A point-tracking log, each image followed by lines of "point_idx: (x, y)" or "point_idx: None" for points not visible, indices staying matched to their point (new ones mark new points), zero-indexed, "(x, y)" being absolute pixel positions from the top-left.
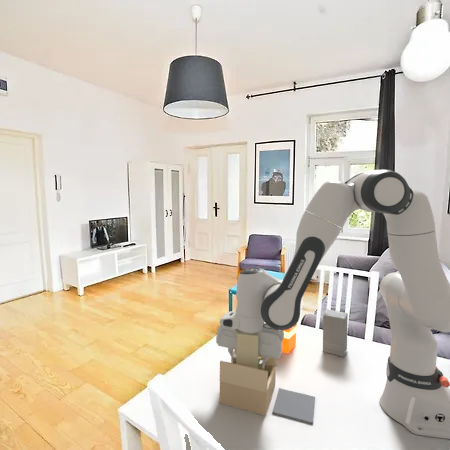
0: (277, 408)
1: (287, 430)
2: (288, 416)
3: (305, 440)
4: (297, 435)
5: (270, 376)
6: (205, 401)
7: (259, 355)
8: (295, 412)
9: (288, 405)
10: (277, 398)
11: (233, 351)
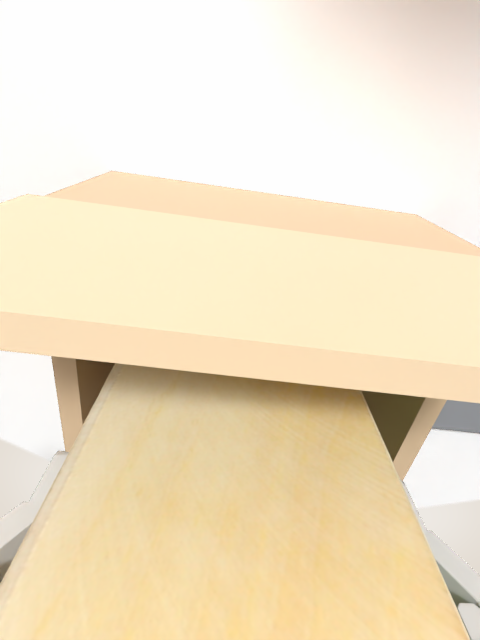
0: None
1: (412, 469)
2: (435, 426)
3: (465, 489)
4: (443, 479)
5: (419, 428)
6: (56, 411)
7: (368, 409)
8: (476, 405)
9: None
10: None
11: (18, 544)
